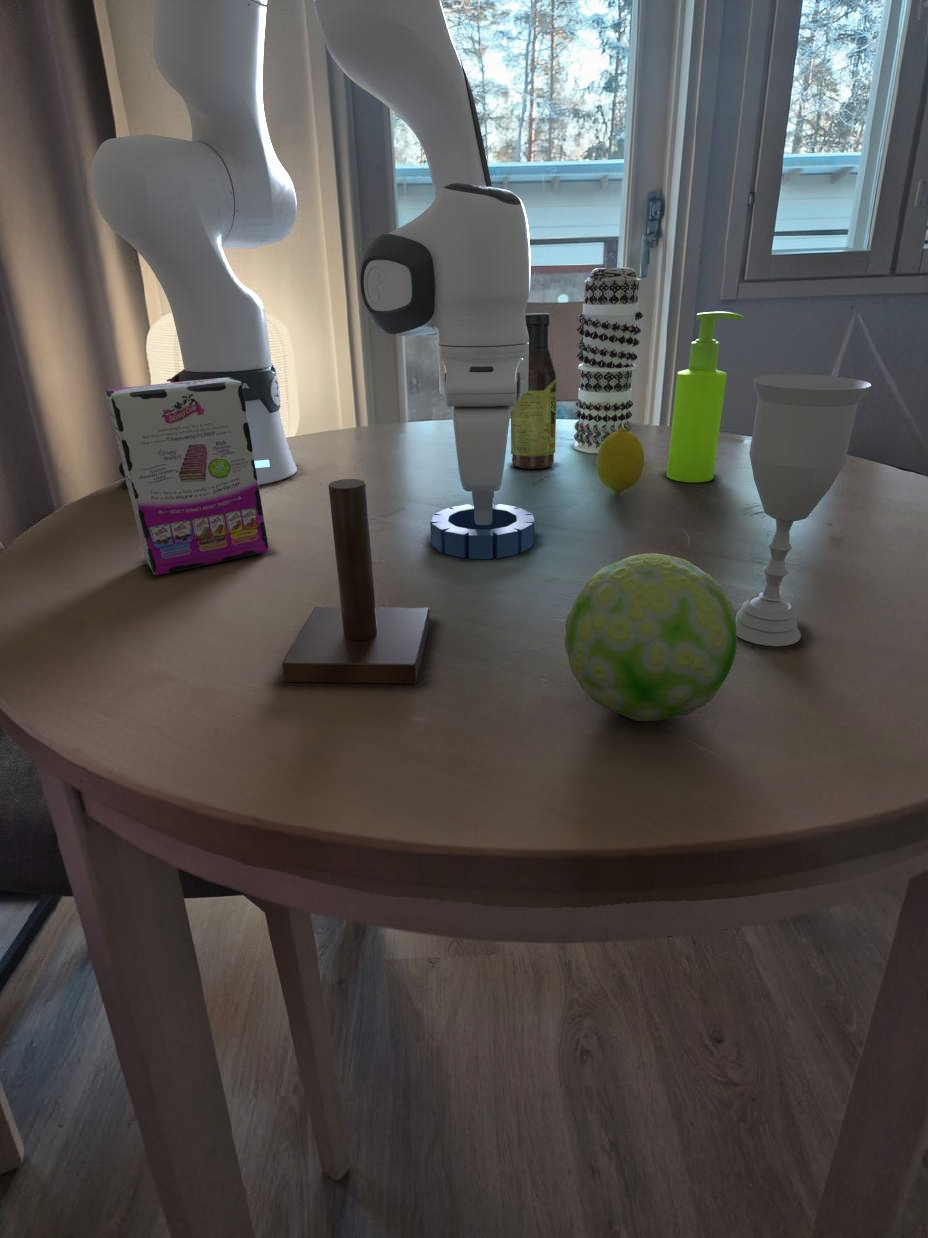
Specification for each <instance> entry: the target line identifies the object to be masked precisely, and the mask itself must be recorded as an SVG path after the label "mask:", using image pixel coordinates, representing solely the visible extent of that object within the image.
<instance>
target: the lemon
mask: <svg viewBox="0 0 928 1238" xmlns="http://www.w3.org/2000/svg"><path fill="white" fill-rule="evenodd" d="M644 465H645V453H644V448H643V444H642V442H641V440H640V438H639V437H637V436H636V435H635V434H634V433H632V432H630V431H629V432H628V431H627V430H626V428H620V429H619V430H618V431H616V432H614V433H611V434H610V435H609V436H607V437H606V438H605V439H604V441H603V442H602V444H601V446H600V449H599V452H598V453H597V457H596V471H597V475H598V478H599V481H601V483H602V484H603V485H604V486H605V487H607V488H608V489H611V491H612V492H613V493H614V494H615V495H620V494H622V493H623V492H624V491H625V490H627V489H630V488H631V487H633V486H634V485H635V484H637V482H638V481H639V479H640V478H641V476H642V473H643V469H644Z"/></svg>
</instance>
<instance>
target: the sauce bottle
mask: <svg viewBox="0 0 928 1238" xmlns="http://www.w3.org/2000/svg"><path fill="white" fill-rule="evenodd" d="M525 319H526V326H527V330H528V335H529V376H528V392H527V393H525V394H523V395H521V397H520V398H519V399H518V401H517V403H516V405H515V410H513V411H512V413H511V416H510V455H512V456H511V462H512V465H513V466H514V467H516V468H519V469H525V470H526V469H528V470H533V469H545V468H548V467H551V466H552V465H553V464H554V461H555V453H556V434H557V433H556V430H557V427H556V426H557V385H558V384H557V381H558V377H557V372H556V369H555V366H554V362H553V359H552V355H551V352H550V349H549V326H550V323H551V321H550V313H549V312H547V313H546V312H534V313H533V312H532V313H531V312H530V313H525Z"/></svg>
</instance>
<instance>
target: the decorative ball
mask: <svg viewBox="0 0 928 1238" xmlns="http://www.w3.org/2000/svg"><path fill="white" fill-rule="evenodd" d="M735 617H736V612H735V610H734V607H733V604H732V602H731V601H730V599H729V598H728V597H727V594H726V592H725V590H724V589H723V587H721V585H720V584H719V583H718V582H717V580H716V579H715V578H714V577H712V575H710V574H709V573H707V572H705V571H704V570H702V569H701V567H699V566H696V565H694V564H693V563H692V562H690V561H688V560H686V559H684V558H681V557H678V556H672V555H668V554H664V553H655V552H653V553H650V552H649V553H639V554H634V555H629V556H627V557H626V558H623V559H622V560H618V561H616V562H614V563H610V564H609V565H606V566H604V567H602V568H600V569H599V570H598V571H597V572H595V573H594V574H593V575H591V577H589V579H587V580H586V582H585V583H584V585H583V587H582V589H580V592H579V593H578V595H577V597H576V599H575V600H574V602H573V603H572V606H571V608H570V610H569V611H568V613H567V616H566V620H565V624H564V625H565V626H564V627H565V635H564V648H565V652H566V654H567V657H568V664H569V667H570V670H571V672H572V674H573V677H574V678H575V680H576V682H577V683H578V684H579V686H580V687H581V688H582V690H583V691H584V692H585V693H586V694H587V695H588V696H589V697H590V698H591V699H592V700H594V701H595V702H596V703H597V704H598V705H599V706H601V707H603V708H605V709H607V710H609V711H613V712H614V713H617V714H619V715H622V716H624V717H626V718H629V719H631V720H633V721H637V722H651V721H655V722H658V721H664V720H669V719H673V718H678V717H683V716H688V715H690V714H693V713H694V712H695V711H696V710H697V709H699V708H701V707H703V706H705V705H706V704H709V702H710V701H712V700H713V699H714V697H715V696H716V694H717V693H718V691H719V690H720V688H721V687H722V685H723V683H724V682H725V680H726V678H727V676H728V675H729V674H730V671H731V669H732V666H733V664H734V661H735V659H736V654H737V645H738V643H737V642H738V641H737V639H738V636H737V635H736V618H735Z"/></svg>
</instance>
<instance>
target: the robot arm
mask: <svg viewBox="0 0 928 1238" xmlns="http://www.w3.org/2000/svg"><path fill="white" fill-rule="evenodd" d="M152 2H153V7H152V9H153V10H152V11H153V12H152V16H153V17H152V52H153V57H154V61H155V64H156V67H157V69H158V71H159V73H160V74H161V76H162V78H163V79H164V80H165V81H166V83H167V84H168V85H169V86H170V87H171V88H172V89H173V90H174V91H175V92H176V93H177V94H178V95H179V96H181V98H182V100H183V102H184V104H185V107H186V110H187V112H188V115H189V120H190V126H191V140H188V139H183V138H176V137H170V136H164V135H157V134H151V133H147V134H145V133H144V134H135V135H126V136H125V135H124V136H119V137H118V136H117V137H113V138H109V139H106V140H104V141H103V142H102V143H101V144H100V146H99V147H98V149H97V150H96V153H95V155H94V158H93V160H92V163H91V170H90V185H91V192H92V196H93V199H94V201H95V205H96V207H97V209H98V211H99V213H100V215H101V217H103V220H104V221H105V223H106V224H107V225H108V226H109V227H110V229H111V230H112V231H113V232H114V233H115V234H117V236H119V237H121V238H122V239H123V240H124V241H125V242H127V243H128V244H129V245H130V246H131V247H132V248H133V249H134V250H136V252H137V253H138V254H139V255H140V256H141V257H142V259H143V260H144V261H145V262H146V264H147V265H148V266H149V268H150V270H151V272H152V273H153V274H154V276H155V277H156V279H157V280H158V282H159V284H160V286H161V289H162V290H163V292H164V295H165V297H166V299H167V301H168V304H169V308H170V310H171V315H172V318H173V323H174V326H175V330H176V331H175V332H176V335H177V340H178V344H179V350H180V354H181V359H182V364H183V369H182V370H181V371H179V372H178V373H176V374H174V375H173V376H172V377H170V378H168V379H166V382H169V383H174V382H183V381H194V380H205V379H216V378H227V377H231V378H232V379H235V380H237V381H240V382H242V387H243V393H244V399H245V405H246V412H247V418H248V424H249V429H250V435H251V442H252V449H253V454H254V461H255V468H256V474H257V479H258V485H259V486H260V485H264V484H269V483H273V482H277V481H281V480H284V479H286V478H289V477H292V476H293V475H294V474H296V473H297V471H298V467H297V464H296V462H295V460H294V458H293V455H292V453H291V450H290V446H289V444H288V440H287V436H286V434H285V430H284V429H285V428H284V425H283V421H282V417H281V413H280V408H281V392H280V391H281V390H280V383H279V379H278V375H277V370H276V369H277V368H276V366H275V365H274V364H273V363H272V362H273V361H272V356H271V348H270V341H269V331H268V325H267V317H266V309H265V306H264V304H263V301H262V300H261V298H260V297H259V296H258V294H257V293H256V292H254V291H253V290H252V289H250V288H249V287H248V286H246V285H244V284H243V283H242V282H241V281H240V280H239V279H238V277H237V276H236V275H235V273H234V272H233V269H232V267H231V266H230V264H229V261H228V258H227V257H226V254H225V249H234V250H235V249H237V250H241V249H242V250H254V249H259V248H262V247H266V246H269V245H272V244H275V243H279V242H282V241H283V240H285V239H286V238H287V237H288V235H289V234H290V233H291V231H292V229H293V227H294V225H295V221H296V216H297V209H298V207H297V206H298V204H297V203H298V202H297V195H296V190H295V187H294V184H293V181H292V179H291V177H290V175H289V173H288V171H286V169H285V168H284V167H283V165H282V163H281V162H280V160H279V158H278V157H277V155H276V152H275V150H274V147H273V144H272V141H271V138H270V134H269V130H268V125H267V120H266V115H265V109H264V99H263V98H264V97H263V75H264V74H263V73H264V72H263V71H264V70H263V69H264V53H265V52H264V51H265V33H266V22H267V21H266V20H267V19H266V18H267V4H268V0H153V1H152ZM312 2H313V7H314V13H315V16H316V20H317V24H318V28H319V30H320V33H321V36H322V38H323V41H324V44H325V46H326V48H327V51H328V53H329V55H330V57H331V59H332V60H333V61H334V62H335V64H336V65H337V67H339V69H340V70H341V71H342V72H343V73H344V74H345V75H346V76H347V77H348V78H349V79H350V80H351V81H352V82H353V83H355V85H356V86H358V87H359V88H361V89H362V90H363V91H365V92H367V93H369V94H370V95H372V96H373V97H374V98H376V99H377V100H379V102H381V103H383V104H384V105H385V106H386V107H388V108H389V109H390V110H391V111H392V112H394V113H395V114H396V115H397V117H399V118H400V119H401V120H402V121H403V122H404V123H405V125H407V126H408V127H409V128H410V130H411V131H412V133H413V134H414V135H415V137H416V138H417V140H418V141H419V144H420V145H421V147H422V150H423V153H424V155H425V158H426V162H427V166H428V170H429V174H430V179H431V183H432V187H433V192H434V196H435V197H434V199H433V201H432V203H431V204H430V205H429V206H428V208H427V209H425V210H424V211H423V212H421V214H419V215H418V216H416V217H415V218H414V219H412V220H410V221H409V222H407V223H406V224H404V225H402V226H400V227H398V228H396V229H394V230H392V231H390V232H387V233H382V234H380V235H377V237H375V238H374V239H373V240H372V241H371V243H370V244H369V245H368V247H367V249H366V250H365V252H364V255H363V257H362V261H361V264H360V267H359V268H360V269H359V278H358V279H359V280H358V281H359V283H358V284H359V291H360V296H361V301H362V305H363V307H364V309H365V312H366V314H367V316H368V317H369V318H370V320H371V321H372V322H373V324H374V325H375V326H376V327H377V328H378V329H379V330H380V331H382V332H384V333H386V334H389V335H394V336H399V337H417V336H437V355H438V359H437V360H438V385H439V387H438V389H439V394H440V395H442V396H443V397H444V401H445V405H446V406H447V408H448V407H449V408H452V425H453V434H454V441H455V442H454V443H455V450H456V458H457V466H458V473H459V479H460V483H461V487H462V489H463V490H464V491H465V492H471V496H472V498H471V499H472V504H474V521H475V523H476V524H477V525H490V524H491V523H492V506H493V504H494V497H495V492H498V491H500V489H501V487H502V483H503V477H504V469H505V462H506V453H507V445H508V444H507V443H508V434H509V428H510V422H511V413H512V411H513V410H515V405H516V403H517V401H518V399H519V398H520V397H521V395H523V394H525V393H527V392H528V376H529V335H528V330H527V326H526V319H525V314H526V312H527V305H528V302H529V297H530V293H531V245H530V243H531V242H530V232H529V231H530V230H529V224H528V223H529V222H528V217H527V213H526V209H525V206H524V204H523V201H522V200H521V198H520V197H519V196H518V195H517V194H515V193H514V192H512V191H511V190H508V189H505V188H500V187H494V186H493V184H492V183H493V182H492V180H491V174H490V169H489V164H488V159H487V154H486V149H485V144H484V139H483V134H482V130H481V125H480V120H479V115H478V110H477V106H476V102H475V98H474V94H473V90H472V86H471V83H470V80H469V77H468V74H467V71H466V68H465V67H464V64H463V62H462V60H461V57H460V56H459V53H458V51H457V49H456V47H455V44H454V41H453V39H452V36H451V33H450V30H449V27H448V24H447V23H448V22H447V19H446V17H445V12H444V9H443V6H442V1H441V0H312ZM261 4H262V5H261ZM118 471H119V473H120V475H121V476H122V477H123V478H124V479H126V478H125V473H124V469H123V465H122V461H121V462H120V463H119V466H118ZM125 485H126V487H127V488H128V486H127V482H126V481H125Z"/></svg>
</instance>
